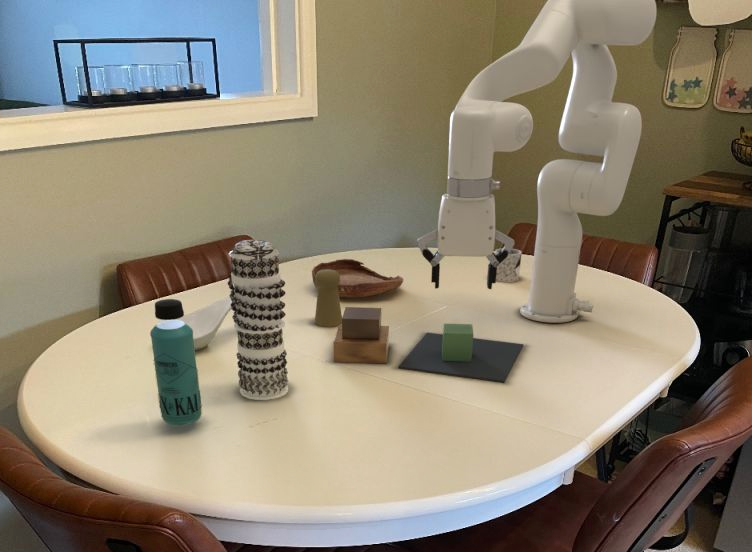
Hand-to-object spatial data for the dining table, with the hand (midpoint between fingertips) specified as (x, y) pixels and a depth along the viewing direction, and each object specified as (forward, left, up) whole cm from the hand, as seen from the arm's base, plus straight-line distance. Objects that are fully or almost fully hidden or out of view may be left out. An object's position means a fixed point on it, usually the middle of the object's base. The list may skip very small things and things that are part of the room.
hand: (462, 286), depth 142 cm
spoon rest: (+49, +8, -14) cm, 51 cm away
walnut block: (+18, +5, -10) cm, 21 cm away
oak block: (+18, +5, -14) cm, 23 cm away
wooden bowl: (+33, -34, -14) cm, 50 cm away
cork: (+31, -10, -14) cm, 36 cm away
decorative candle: (+28, +28, -14) cm, 42 cm away
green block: (0, +1, -13) cm, 13 cm away
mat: (-1, 0, -14) cm, 14 cm away
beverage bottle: (+34, +45, -14) cm, 58 cm away
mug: (+2, -59, -14) cm, 61 cm away
